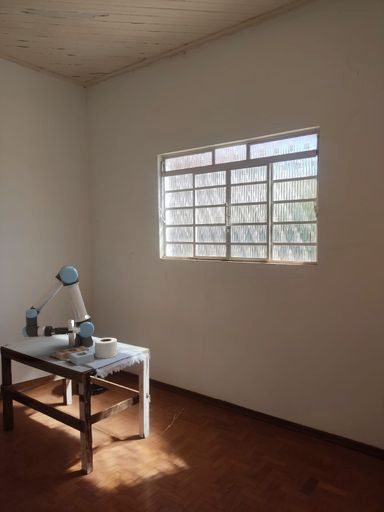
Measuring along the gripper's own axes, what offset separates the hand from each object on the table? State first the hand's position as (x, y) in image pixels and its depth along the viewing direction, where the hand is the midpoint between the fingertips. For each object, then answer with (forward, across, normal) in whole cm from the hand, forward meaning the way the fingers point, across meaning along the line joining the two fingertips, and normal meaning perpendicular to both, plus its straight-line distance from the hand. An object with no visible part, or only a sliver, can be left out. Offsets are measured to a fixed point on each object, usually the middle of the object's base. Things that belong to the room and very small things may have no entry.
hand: (78, 330), depth 261 cm
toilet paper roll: (+18, -2, -19) cm, 26 cm away
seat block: (+5, +12, -18) cm, 23 cm away
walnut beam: (-5, 0, -18) cm, 19 cm away
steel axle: (-5, 0, -10) cm, 12 cm away
